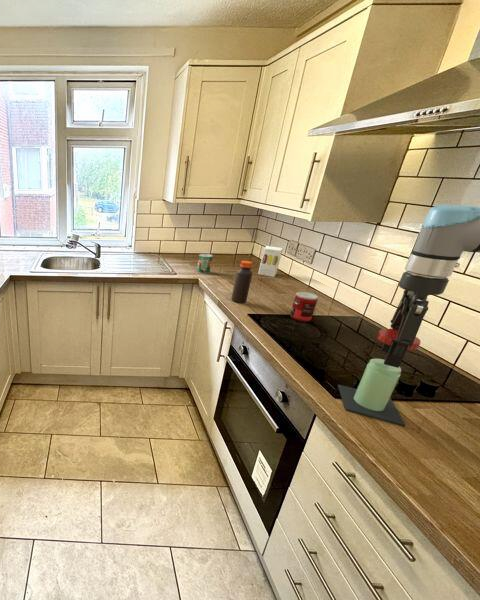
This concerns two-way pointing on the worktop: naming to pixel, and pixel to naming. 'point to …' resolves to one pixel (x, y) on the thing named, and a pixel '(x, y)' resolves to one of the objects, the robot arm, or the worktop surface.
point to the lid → (389, 334)
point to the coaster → (386, 415)
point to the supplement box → (270, 261)
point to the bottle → (242, 282)
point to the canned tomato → (204, 263)
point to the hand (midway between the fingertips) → (389, 358)
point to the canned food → (303, 306)
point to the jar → (377, 385)
